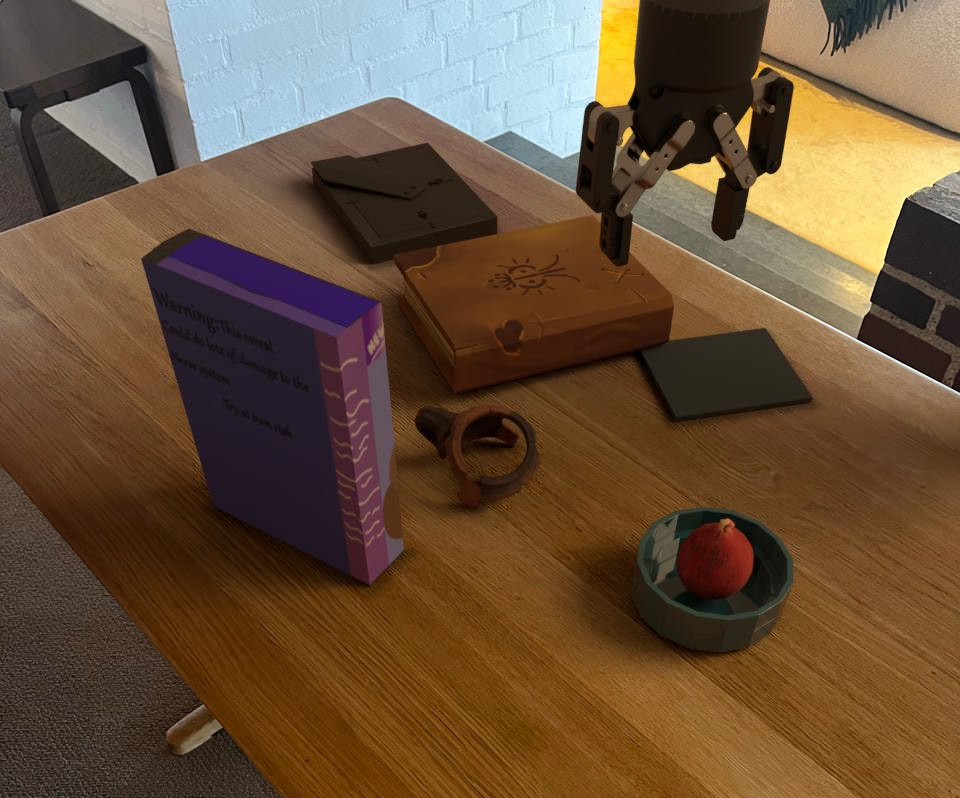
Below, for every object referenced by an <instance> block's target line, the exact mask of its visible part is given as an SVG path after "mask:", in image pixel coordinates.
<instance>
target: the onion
mask: <svg viewBox="0 0 960 798" xmlns="http://www.w3.org/2000/svg"><path fill="white" fill-rule="evenodd" d="M734 526H735V524H734V522H733V521H731V520H730V519H729V518H728V519H721V520H720V522H719V523H711V524H705V525H703V526H701V527H699V528H697V529H695V530H694V531H692V532H691V533H690V534H689V535H688V537H687V538H686V539H685V541H684V542H683V544H682V545H681V547H680V550H679V552H678V558H677V571H678V574H679V576H680V579H681V581H682V583H683V585H684V586H685V587H686V588H687V589H688V590H689V592H690V593H691V594H693V595H696V596H698V597H700V598H702V599H708V600H719V599H723V598H726V597H729V596H731V595H733V594H734V593H736V592H737V591H739V590H740V589H742V588H743V587H744V585H745V584H746V582H747V580H748V578H749V577H750V575H751V573H752V569H753V549H752V546H751V545H750V543H749V541H748V540H747V538H746V537H745V535H744V534H743V533H742V532H740V531H739V530H738V529H736V528H735V527H734Z"/></svg>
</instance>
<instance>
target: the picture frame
mask: <svg viewBox="0 0 960 798" xmlns="http://www.w3.org/2000/svg"><path fill="white" fill-rule="evenodd" d="M310 164H311V166H312V167H311V173H312V175H311V176H312V180H313V185H314V187H315V188H316V189H317V190H318V192H319V194H321V196H322V198H323V199H324V200H325V201H326V203H327V204H328V205H329V207H330V208H331V210H332V211H333V212H334V213H335V215H336V217H337V218H338V219H339V221H340V222H341V224H342V225H343V226H344V227H345V228H346V230H347V231H348V233H349V234H350V235H351V237H352V238H353V240H355V242H356V244H357V245H358V247H360V249H361V250H362V251H363V253H364V254H365V255H366V257H367V258H368V260H369V261H370V263H371V264H372V265H375V264H379V263H384V262H387V261H391V260H394V255H396V254H401V253H406V252H411V251H416V250H421V249H426V248H431V247H436V246H441V245H446V244H451V243H456V242H461V241H466V240H471V239H476V238H481V237H485V236H490V235H495V234H498V215H496V214H495V212H494V211H493V210H492V209H491V208H490V207H489V206H488V205H487V203H485V201H484V200H482V198H481V197H480V196H479V195H478V194H477V193H476V192H475V191H474V190H473V189H472V188H471V187H470V186H469V185H468V184H467V182H466V181H465V180H464V179H463V178H462V177H461V176H460V175H459V173H457V172H456V171H455V169H453V167H452V166H450V164H449V163H448V162H447V161H446V160H445V159H444V158H443V157H442V156H441V155H440V153H439V152H438V151H437V150H436V149H434V147H433V146H432V145H431V144H430V143H429V142H423V143H420V144H415V145H410V146H406V147H405V146H404V147H401V148H397V149H391V150H387V151H383V152H378V153H374V154H373V153H372V154H368V155H364V156H359V157H354V156H352V155H350V154H346V155H340V156H335V157H329V158H324V159H318V160H314V161H313V160H312V161H310Z"/></svg>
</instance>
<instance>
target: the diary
mask: <svg viewBox="0 0 960 798" xmlns="http://www.w3.org/2000/svg"><path fill="white" fill-rule="evenodd" d="M600 228H601V221H600V220H599V219H598V218H597V217H596V216H595V215H594V214H590V215H585V216H580V217H575V218H570V219H565V220H561V221H555V222H550V223H546V224H540V225H535V226H530V227H525V228H521V229H520V228H519V229H515V230H511V231H505V232H500V233H497V234H492V235H488V236H484V237H480V238H476V239H471V240H466V241H461V242H456V243H451V244H446V245H441V246H436V247H431V248H426V249H421V250H416V251H411V252H406V253H401V254H396V255H394V259H393V262H394V263H393V264H394V265H395V266H396V268H397V269H398V271H399V272H400V274H401V276H402V277H403V287H404V288H403V289H404V294H400V295H397V296H396V298H397V299H396V301H397V305H398V306H399V308H400V310H401V311H402V313H403V314H404V316H405V318H406V319H407V320H408V322H409V324H410V325H411V327H412V328H413V330H414V331H415V333H416V334H417V336H418V338H419V339H420V341H421V342H422V344H423V346H424V347H425V349H426V350H427V352H428V354H429V355H430V356H431V359H433V361H434V363H435V364H436V366H437V368H438V369H439V371H440V372H441V374H442V375H443V377H444V379H445V381H446V382H447V383H448V385H449V386H450V388H451V390H452V391H453V393H454V394H455V395H456V394H460V393H464V392H465V393H466V392H468V391H473V390H478V389H481V388H485V387H491V386H494V385H498V384H502V383H507V382H511V381H514V380H519V379H523V378H527V377H532V376H536V375H539V374H544V373H548V372H553V371H556V370H559V369H564V368H565V369H566V368H568V367H573V366H577V365H582V364H586V363H590V362H594V361H598V360H603V359H607V358H611V357H614V356H619V355H623V354H628V353H631V352H632V353H633V352H636V351H638V350H640V349H645V348H649V347H653V346H657V345H661V344H665V343H666V342H667V341H670V338H671V329H672V324H673V318H674V317H673V316H674V311H675V305H674V304H675V303H674V300H673V295H672V293H671V292H670V291H669V290H668V289H667V288H666V287H665V286H664V284H662V283H661V282H660V281H659V280H658V279H657V278H656V277H655V276H654V275H653V273H651V272H650V271H649V270H648V268H647V267H645V266H644V264H642V262H640V261H639V260H638V259H637V258H636V256H634V255H633V254H632V253H631V251H629V261H628V264H627V265H623V266H619V267H616V266H615V265H614V264H613V263H612V262H611V261H610V260H609V259H608V258H607V256H606V255H605V254H604V253H603V252H602V251H601V248H600V245H599V240H600V231H601V230H600Z"/></svg>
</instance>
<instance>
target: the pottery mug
mask: <svg viewBox="0 0 960 798" xmlns="http://www.w3.org/2000/svg"><path fill="white" fill-rule="evenodd" d="M504 419H505V420H507V421H510V422H512V423H513V424H515V425H516V426H517V427H518V428H519V430H520V432H521V433H522V434H523V437H524V439H525V444H526V451H525V456H524V458H523V460H522V462H521V463H520V464H519V465H518V466H517V467H516V468H515V469H514V470H512V471H510V472H508V473H506V474H503V475H499V476H497V475H496V476H495V475H493V476H492V475H491V476H490V475H484V474H479V475H478V479H479V480H478V479H477V478H475V477H473V476H472V475H471V474H470V473H469V470H470V466H469V464H468V463H467V462H466V460H465V458H464V456H463V454H462V449H463V448H464V447H466V446H467V445H468V444H470V443H471V442H474V441H477V440H481V439H486V438H488V439H489V438H491V439H495V440H499V441H502V442H504V443H506V444H507V445H509V446H511V447H512V448H514V447H516V445H517V443H518V441H519V439H520V438H521V434H520V432H519V431H518V430H515V429H514V428H512V427H511V426H510V425H509V424H507V423H506V422H503V420H504ZM413 422H414V424H415V425H414V426H415V428H416V430H417V431H418V432H419V434H420V435H422V437H423V438H424V439H426V441H428V442H429V443H430V444H432V446H434V448H435V449H436V451H437V454H438V457H439V459H440V460H442V461H443V460H446V459H447V461H448V464H449V467H450V469H451V473H452V474H453V476H454V477H455V479H456V480H457V482H458V483H459V484H460V485H461V486H460V489H459V491H458V492H457V494H456V497H457V500H458V501H459V502H461V503H462V504H464V505H466V506H468V507H470V508H473V507H475V506H478V505H479V504H481V505H486V504H491V503H494V502H498V501H502V500H504V499H507V498H510V497H512V496H514V495H516V494H518V493H520V492H521V491H522V486H526V485H529V483H530V482H531V480H532V479H533V477H534V475H535V473H536V471H537V469H539V467H540V466H541V465H542V464H543V459H542V456H541V454H540V451H539V450H538V449H537V446H536V443H537V442H538V441H537V440H538V436H537V434H538V432H537V431H536V428H535V427H534V426H533V425H532V424H531V423H530V422H528V421H527V420H526V418H525V417H524V416H522V415H521V414H520V413H519V412H517V411H515V410H512V409H510V408H508V407H505V406H503V405H495V404H481V405H476V406H473V407H469V408H468V409H466V410H463V411H460V412H453V411H450V410H448V409H445V408H443V407H440V406H432V405H425V406H423V407H421V408H420V409H418V412H417V413H416V415H415V417H414V419H413Z"/></svg>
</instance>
